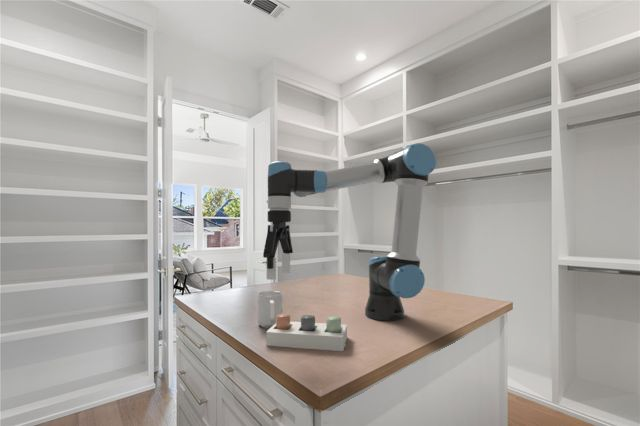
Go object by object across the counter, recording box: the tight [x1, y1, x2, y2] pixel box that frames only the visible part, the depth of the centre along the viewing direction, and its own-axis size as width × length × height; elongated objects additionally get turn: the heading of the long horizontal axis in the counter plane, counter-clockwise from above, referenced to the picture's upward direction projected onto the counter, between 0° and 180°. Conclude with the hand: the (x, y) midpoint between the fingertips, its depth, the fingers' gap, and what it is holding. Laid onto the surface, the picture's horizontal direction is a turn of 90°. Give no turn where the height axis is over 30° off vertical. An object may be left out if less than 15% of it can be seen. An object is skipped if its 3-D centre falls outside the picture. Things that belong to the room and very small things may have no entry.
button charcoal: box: [300, 314, 316, 332], centre depth 95 cm, size 4×4×4 cm
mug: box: [257, 290, 284, 329], centre depth 110 cm, size 12×9×11 cm
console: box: [265, 320, 348, 352], centre depth 95 cm, size 23×11×4 cm, turn 79°
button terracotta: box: [276, 313, 291, 330], centre depth 97 cm, size 4×4×4 cm
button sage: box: [325, 315, 342, 333], centre depth 94 cm, size 4×4×4 cm
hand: (279, 275), depth 99 cm, fingers open, 13 cm apart
